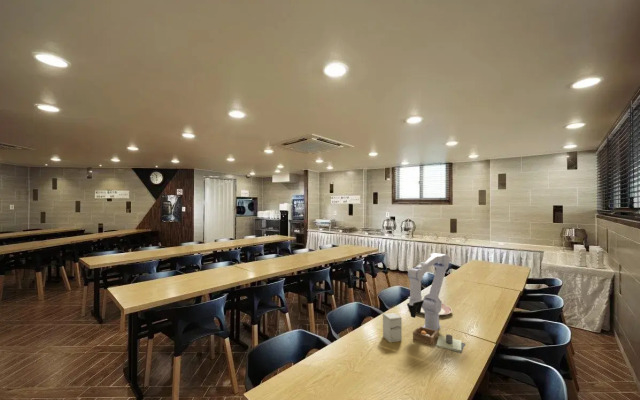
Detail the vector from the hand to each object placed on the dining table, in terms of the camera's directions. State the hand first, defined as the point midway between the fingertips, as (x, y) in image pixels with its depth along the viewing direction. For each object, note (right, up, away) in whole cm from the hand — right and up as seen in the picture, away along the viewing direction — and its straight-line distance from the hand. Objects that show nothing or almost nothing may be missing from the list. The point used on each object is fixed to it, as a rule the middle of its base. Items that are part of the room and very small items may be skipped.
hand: (415, 315), depth 152 cm
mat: (+13, -10, -13) cm, 21 cm away
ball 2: (+3, -10, -8) cm, 13 cm away
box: (+3, -10, -6) cm, 12 cm away
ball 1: (+3, -10, -4) cm, 11 cm away
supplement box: (-15, -11, -6) cm, 19 cm away
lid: (+13, -10, -13) cm, 20 cm away
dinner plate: (+22, -12, +35) cm, 43 cm away
